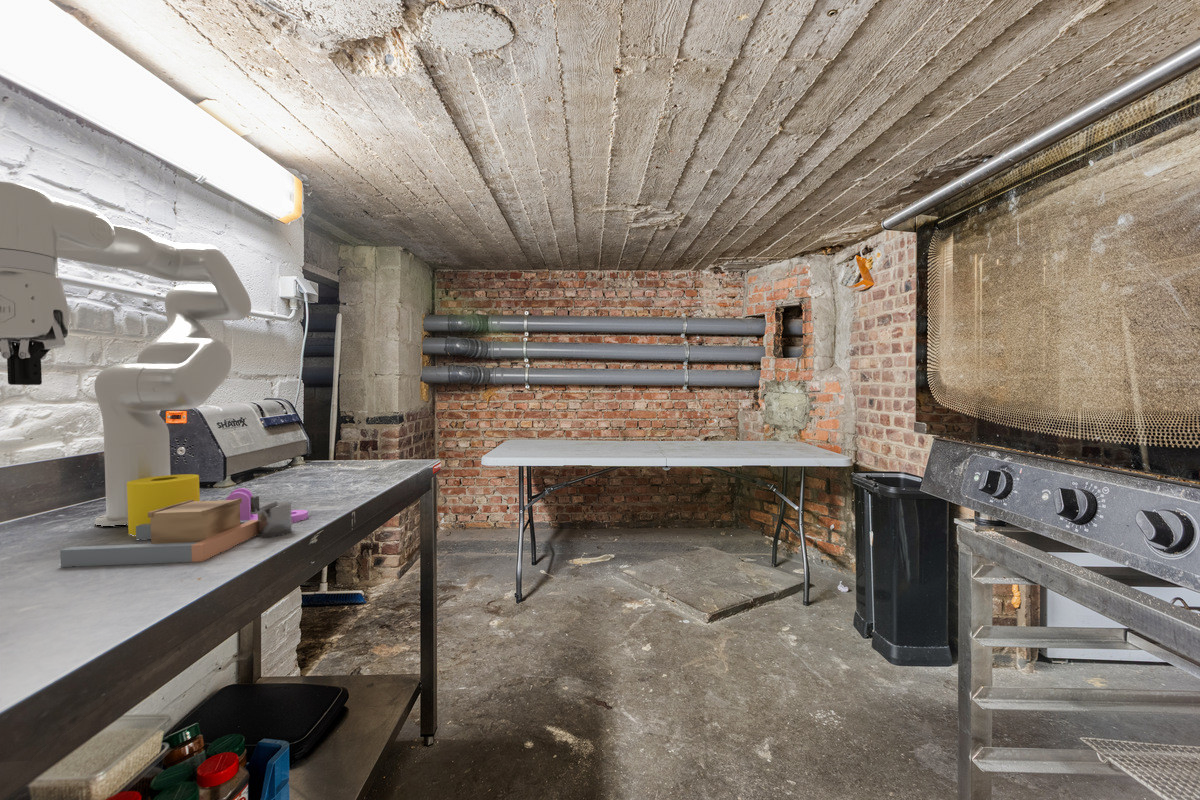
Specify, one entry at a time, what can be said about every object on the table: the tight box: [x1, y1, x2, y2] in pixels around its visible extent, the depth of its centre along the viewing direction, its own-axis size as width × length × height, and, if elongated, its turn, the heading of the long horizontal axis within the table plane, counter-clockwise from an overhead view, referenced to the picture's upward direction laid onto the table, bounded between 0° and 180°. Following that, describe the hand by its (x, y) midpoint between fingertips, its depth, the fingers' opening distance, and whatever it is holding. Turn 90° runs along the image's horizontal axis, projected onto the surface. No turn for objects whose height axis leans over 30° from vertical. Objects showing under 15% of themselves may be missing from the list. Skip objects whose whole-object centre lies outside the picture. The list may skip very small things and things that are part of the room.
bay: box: [59, 520, 258, 568], centre depth 77 cm, size 14×20×2 cm
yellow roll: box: [127, 473, 201, 535], centre depth 89 cm, size 10×10×9 cm
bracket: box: [225, 487, 309, 523], centre depth 93 cm, size 13×6×7 cm, turn 121°
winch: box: [250, 495, 293, 538], centre depth 83 cm, size 9×5×8 cm, turn 5°
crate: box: [148, 498, 242, 544], centre depth 78 cm, size 8×8×7 cm
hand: (25, 384), depth 74 cm, fingers closed
